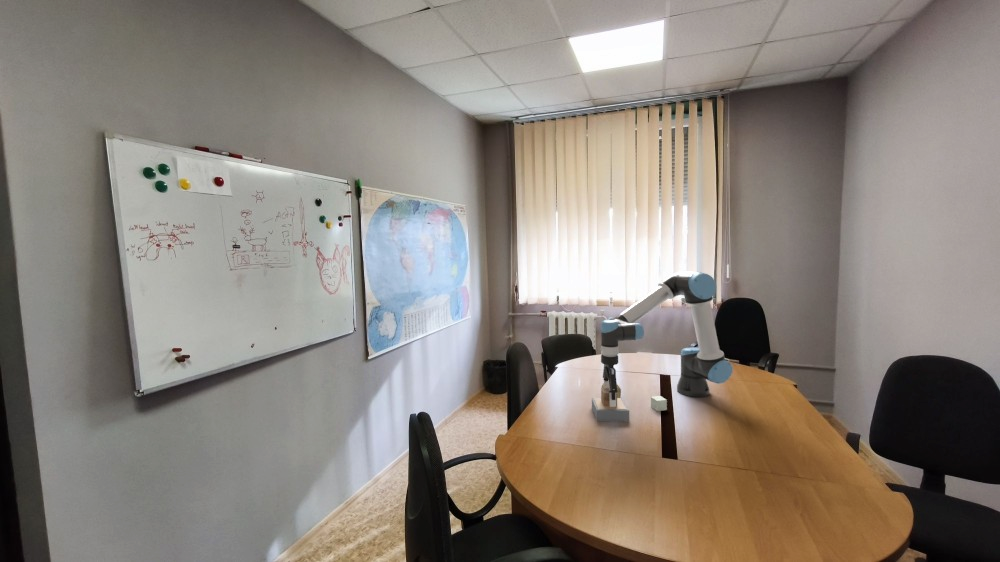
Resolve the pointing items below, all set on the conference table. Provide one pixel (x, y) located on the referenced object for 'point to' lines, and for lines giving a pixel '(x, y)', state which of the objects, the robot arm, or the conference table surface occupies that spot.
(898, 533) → the conference table surface
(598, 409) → the plinth
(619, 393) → the decorative item
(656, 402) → the sage cube
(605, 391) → the walnut cube
